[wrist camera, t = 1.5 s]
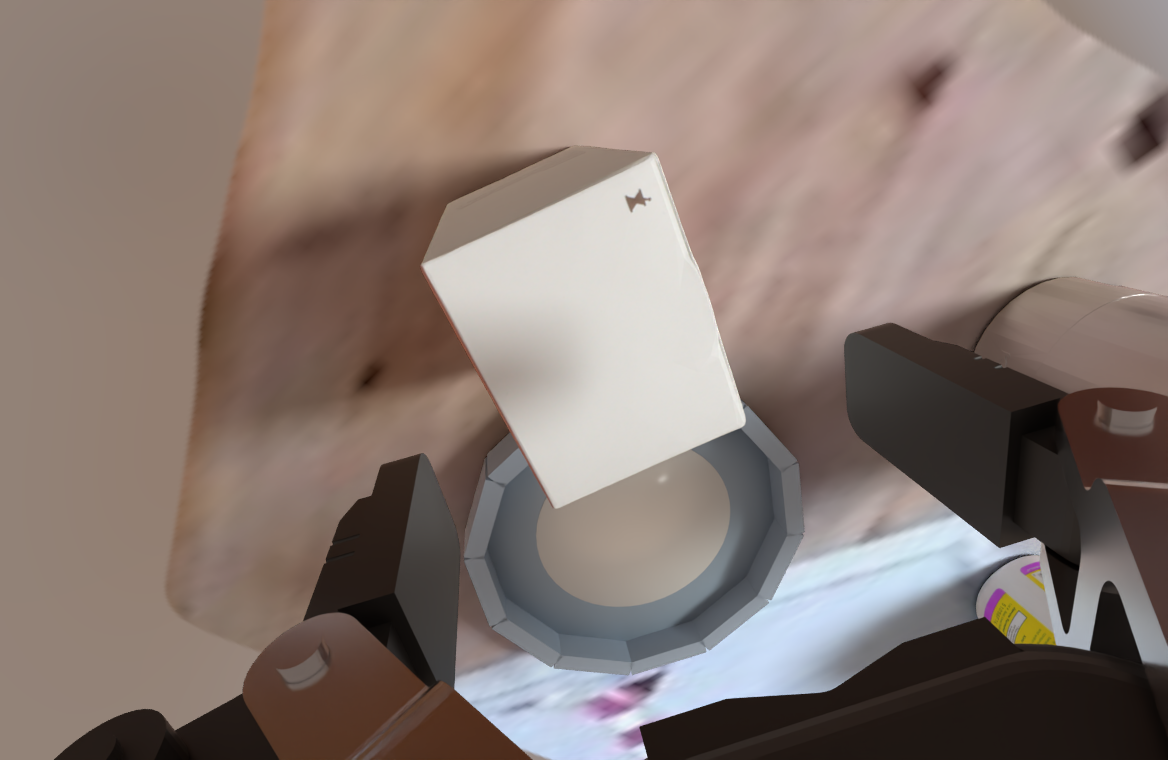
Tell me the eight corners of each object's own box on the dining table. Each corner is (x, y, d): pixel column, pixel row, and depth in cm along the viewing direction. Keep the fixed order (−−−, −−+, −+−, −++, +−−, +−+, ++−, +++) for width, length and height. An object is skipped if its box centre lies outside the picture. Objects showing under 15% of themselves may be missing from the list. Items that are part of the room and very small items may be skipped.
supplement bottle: (992, 640, 43) (1186, 831, 31) (955, 593, 40) (1152, 781, 28) (1071, 585, 42) (1303, 759, 30) (1038, 533, 39) (1278, 701, 27)
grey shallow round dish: (766, 331, 30) (788, 346, 28) (792, 591, 37) (812, 619, 35) (424, 426, 29) (419, 449, 27) (519, 674, 36) (522, 709, 34)
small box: (443, 203, 25) (411, 259, 13) (576, 141, 25) (662, 143, 13) (523, 361, 29) (553, 517, 17) (641, 306, 29) (756, 425, 17)
